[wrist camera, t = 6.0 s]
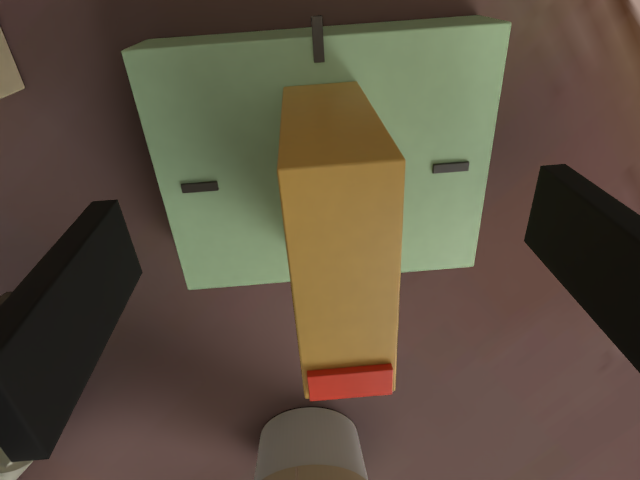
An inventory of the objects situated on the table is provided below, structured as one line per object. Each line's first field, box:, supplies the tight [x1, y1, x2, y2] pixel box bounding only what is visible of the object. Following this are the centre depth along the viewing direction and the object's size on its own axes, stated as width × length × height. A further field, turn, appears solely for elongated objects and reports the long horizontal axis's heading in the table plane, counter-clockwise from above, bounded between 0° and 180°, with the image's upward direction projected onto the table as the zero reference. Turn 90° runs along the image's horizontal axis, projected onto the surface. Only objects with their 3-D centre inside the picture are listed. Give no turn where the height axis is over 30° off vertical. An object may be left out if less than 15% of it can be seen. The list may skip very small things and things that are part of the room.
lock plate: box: [121, 15, 511, 290], centre depth 18 cm, size 13×11×3 cm
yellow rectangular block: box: [277, 81, 406, 401], centre depth 13 cm, size 7×3×8 cm, turn 4°
